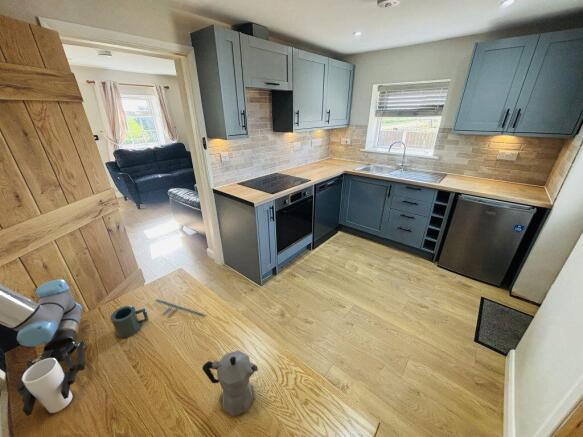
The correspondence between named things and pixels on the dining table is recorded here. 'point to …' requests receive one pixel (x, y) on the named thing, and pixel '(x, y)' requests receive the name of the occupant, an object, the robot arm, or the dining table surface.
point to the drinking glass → (47, 384)
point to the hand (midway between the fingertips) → (46, 403)
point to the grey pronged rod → (177, 306)
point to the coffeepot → (233, 380)
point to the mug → (127, 321)
